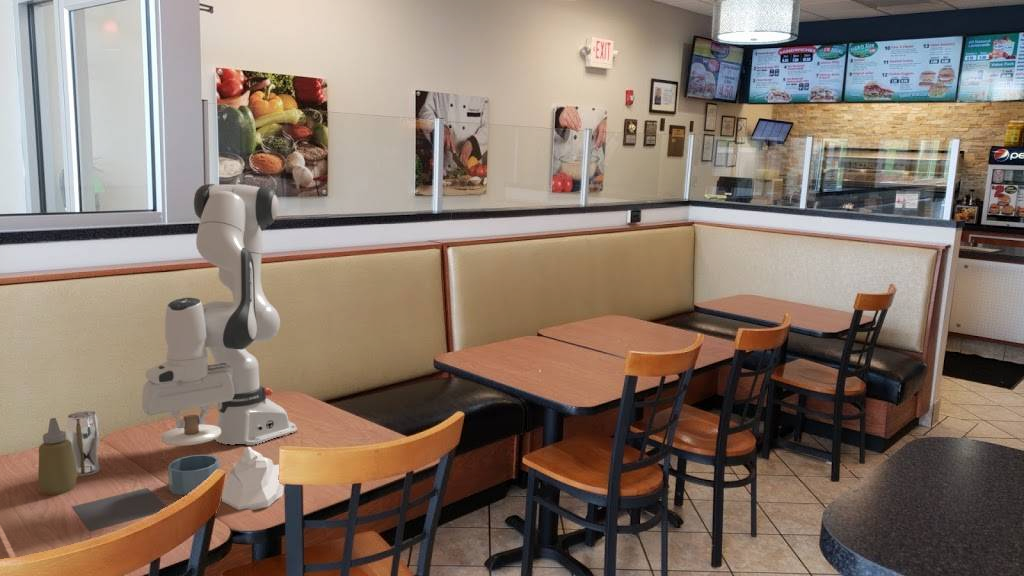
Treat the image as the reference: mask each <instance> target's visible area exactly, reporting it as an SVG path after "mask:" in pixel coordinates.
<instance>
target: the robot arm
mask: <svg viewBox="0 0 1024 576" xmlns="http://www.w3.org/2000/svg"><path fill="white" fill-rule="evenodd" d="M277 195H278V194H277V193H276V192H275V190H273V189H272V188H269V187H265V186H260V187H259V186H256V185H255V186H254V185H249V184H240V183H236V184H224V183H223V184H215V183H208V184H203V185H201V186H199V187H198V188H197V189H196V191H195V193H194V197H193V209H194V212H195V215H196V217H197V218H198V219H199V224H198V228H197V233H196V237H195V238H196V239H195V243H196V249H197V251H198V253H199V255H200V257H202V258H203V259H204V260H205V261H206V262H208V263H209V264H211V265H213V266H215V267H217V268H218V278H219V279H218V280H219V282H221V284H222V285H224V286H225V287H227V288H228V289H229V291H231V293H232V298H233V301H216V300H215V301H210V302H204V303H202V301H201V300H200V299H199V298H195V297H182V298H178V299H173V300H172V301H170V302H169V303H168V304H167V306H166V308H165V310H166V311H165V318H164V319H165V320H164V335H165V341H166V345H167V352H166V361H164V362H162V363H160V364H157V365H156V366H155V365H154V367H151V368H148V369H147V370H146V371H145V378H146V379H147V381H146V382H145V383H144V385H143V389H142V393H141V394H142V396H141V397H142V398H141V407H142V411H143V412H144V413H145V414H147V415H148V416H154V415H160V414H166V413H170V414H171V416H172V417H173V418H174V420H175V421H176V428H178V429H180V428H184V427H185V420H184V419H183V418H180V417H179V416H178V415H180V413H181V411H182V410H187V409H193V408H199V407H200V409H201V411H200V414H199V415H198V424H199V425H206V417H207V415H208V413H209V411H210V405H214V404H217V405H216V406H217V410H218V420H217V427H219V428H220V429H221V435H220V436H219V437H218V438H216V439H214V441H215V440H216V441H215V442H217V443H218V442H219V444H221V443H222V445H227V444H230V445H231V446H234V445H235V444H246V446H256V445H255V444H257V445H260V444H263V443H266V442H265V441H267V440H270V439H273V438H276V437H278V436H281V435H284V434H287V433H291V432H294V431H296V430H297V431H298V427H297V425H296V424H295V423H294V422H291V420H289V416H288V413H287V411H286V410H285V409H284V408H283V406H281V405H279V404H277V403H275V401H273V400H270V399H269V398H267V397H271V396H272V395H273V390H272V389H271V388H269V387H264V386H262V385H260V368H259V367H260V366H259V362H258V359H257V358H256V357H255V355H253V354H251V353H250V352H248V350H247V349H246V348H247V347H249V346H250V345H251V344H252V343H261V342H266V341H271V340H273V339H274V338H275V337H276V336H277V334H278V332H279V330H280V328H281V318H280V314H279V312H278V310H277V309H276V308H275V307H274V306H273V305H272V304H271V303H270V302H269V301H268V299H267V297H266V295H265V293H264V290H263V286H262V279H261V276H262V275H261V273H262V272H261V271H262V270H261V268H262V253H263V236H262V231H265V229H266V228H267V227H269V226H271V225H272V224H273V223H274V222H275V221H276V219H277V216H278V213H279V210H280V205H279V204H280V203H279V200H278V199H279V198H278V196H277ZM206 348H208V349H209V351H210V353H211V355H212V357H213V359H214V363H215V364H209V358H208V357H209V356H208V351H207V349H206ZM293 427H294V428H293ZM276 439H277V438H276ZM273 440H274V439H273ZM270 441H271V440H270ZM262 442H263V443H262ZM267 442H268V441H267ZM259 443H260V444H259ZM235 446H236V445H235Z"/></svg>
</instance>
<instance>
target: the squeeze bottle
mask: <svg viewBox="0 0 1024 576" xmlns="http://www.w3.org/2000/svg"><path fill="white" fill-rule="evenodd" d="M42 442H43V443H41V444H40V445H39V447H38V475H37V479H38V480H37V481H38V483H39V485H40V487H41V489H42V491H43V492H44V494H45V495H51V496H52V495H61V494H65V493H68V492H69V491H71V490H74V488H75V485H76V483H77V479H78V476H77V475H78V474H77V469H76V464H75V459H74V454H73V449H72V445H71V442H70V441H69V440H68V439H67V431H64V430H61V429H60V426H59V423H58V421H57V418H55V417H53V418H50V419H49V424H48V431H47V432H46V433H43V435H42Z"/></svg>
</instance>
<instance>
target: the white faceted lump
mask: <svg viewBox="0 0 1024 576" xmlns="http://www.w3.org/2000/svg"><path fill="white" fill-rule="evenodd" d="M278 475H279V464H274V461H273V460H272V459H271V458H268V457H264V456H263V455H262V454H261V453H260V452H258V451H256V450H253V449H252V447H251V446H247V447H245V448H244V451H243V453H242V454H241V457H240V459H239V460H238V461H236V462H235V463H234V464H233V469H232V470H231V471H230V475H229V476H227V480H226V483H225V485H224V487H223V491H222V493H223V494H222V493H221V495H222V501H221V502H222V503H225V504H227V505H229V506H231V507H232V508H234V509H236V510H238V511H240V510H241V511H242V510H246V509H248V510H250V511H256V510H260V509H265V508H269V507H270V506H271V505H273V503H275V502H276V501H277V500H278V499H279V498H280V497H282V496H283V495H284V488H285V485H284V486H283V485H282V484H280V483H279V480H278Z"/></svg>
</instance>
